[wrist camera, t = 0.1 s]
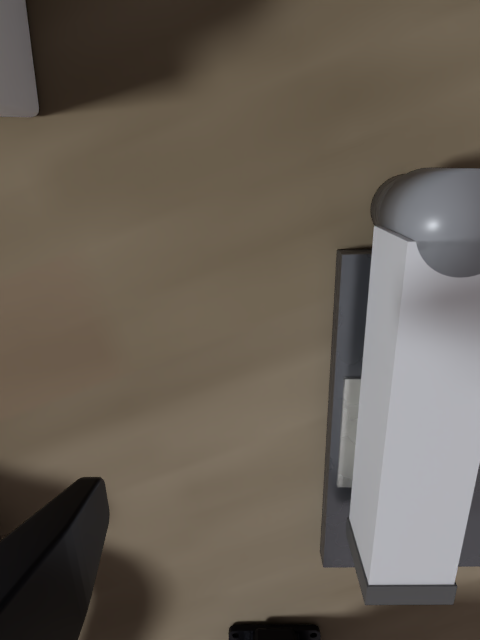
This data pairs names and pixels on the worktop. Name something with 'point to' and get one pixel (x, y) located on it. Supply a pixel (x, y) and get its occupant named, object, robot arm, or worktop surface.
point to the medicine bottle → (16, 62)
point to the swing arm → (419, 391)
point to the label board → (345, 405)
